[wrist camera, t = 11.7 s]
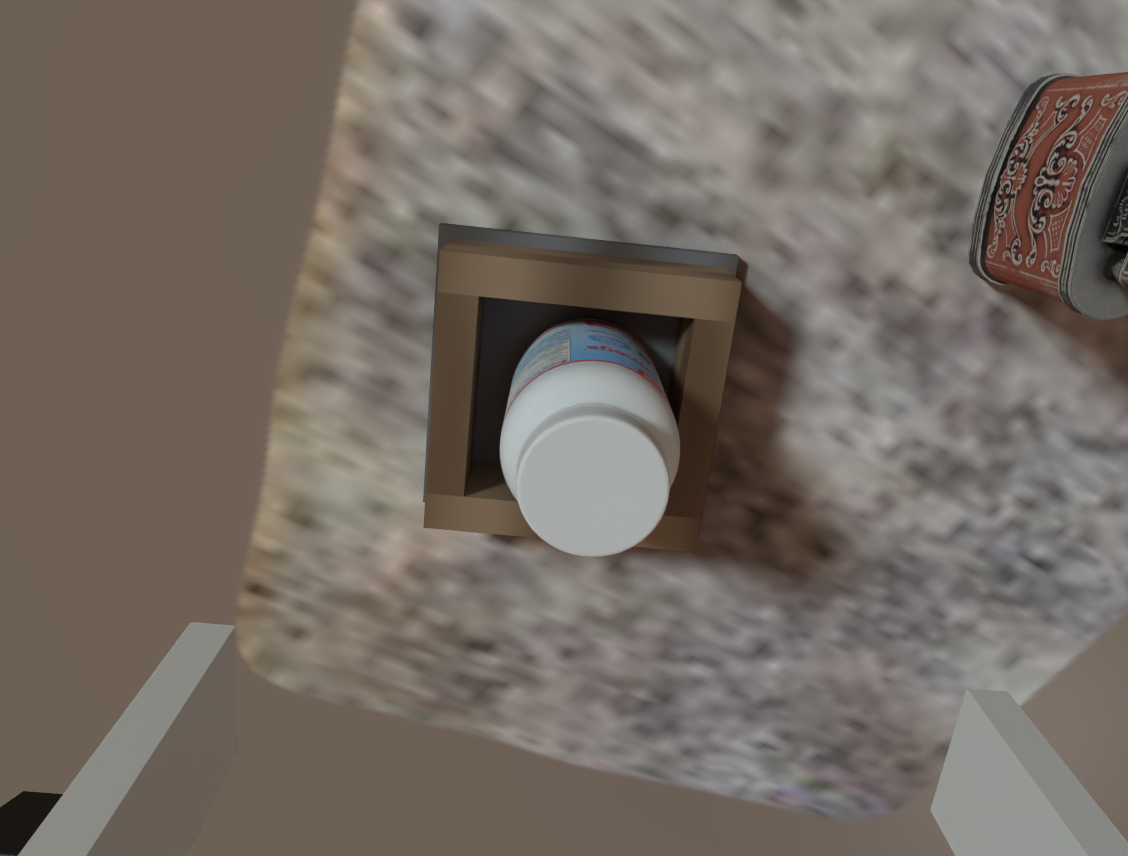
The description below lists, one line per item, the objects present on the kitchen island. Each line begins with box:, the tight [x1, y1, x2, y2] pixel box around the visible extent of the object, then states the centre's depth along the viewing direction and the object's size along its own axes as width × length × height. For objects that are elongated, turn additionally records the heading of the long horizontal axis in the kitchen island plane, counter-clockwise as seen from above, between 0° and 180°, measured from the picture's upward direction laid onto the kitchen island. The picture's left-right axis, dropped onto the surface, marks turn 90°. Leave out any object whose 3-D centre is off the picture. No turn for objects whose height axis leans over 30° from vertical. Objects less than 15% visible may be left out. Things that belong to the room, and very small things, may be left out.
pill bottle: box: [500, 318, 680, 557], centre depth 31 cm, size 6×6×11 cm
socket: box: [423, 223, 742, 553], centre depth 35 cm, size 12×12×4 cm
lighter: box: [968, 72, 1128, 320], centre depth 30 cm, size 8×3×10 cm, turn 169°
